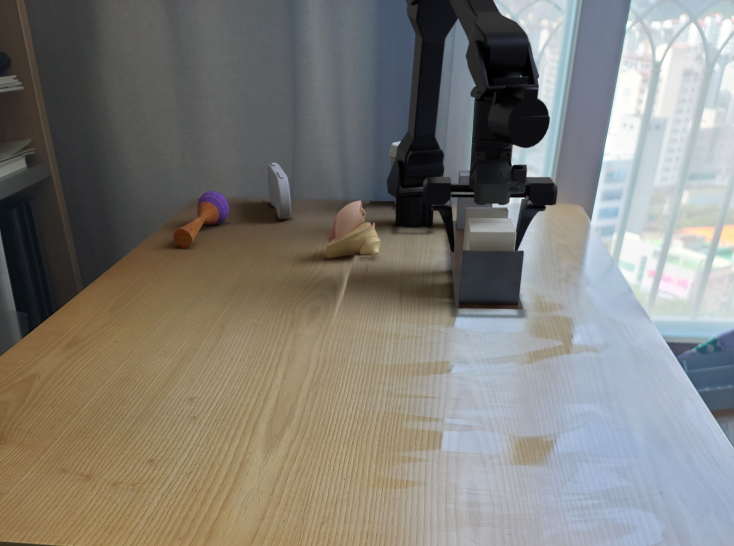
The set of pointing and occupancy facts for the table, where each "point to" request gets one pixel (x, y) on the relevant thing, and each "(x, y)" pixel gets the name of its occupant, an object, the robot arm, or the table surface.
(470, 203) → the grey books
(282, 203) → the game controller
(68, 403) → the table surface
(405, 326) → the table surface
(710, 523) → the table surface
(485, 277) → the book rack
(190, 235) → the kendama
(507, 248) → the cream books
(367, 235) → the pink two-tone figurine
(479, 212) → the ivory book
